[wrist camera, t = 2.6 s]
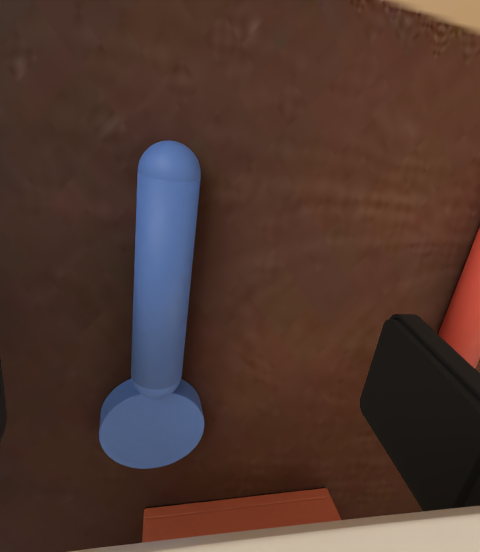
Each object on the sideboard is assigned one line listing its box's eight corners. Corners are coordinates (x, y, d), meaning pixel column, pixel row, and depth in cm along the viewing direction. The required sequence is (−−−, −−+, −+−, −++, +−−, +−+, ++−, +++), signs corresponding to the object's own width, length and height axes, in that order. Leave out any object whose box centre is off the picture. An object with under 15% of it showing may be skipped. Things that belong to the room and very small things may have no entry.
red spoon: (465, 166, 18) (503, 178, 16) (551, 175, 19) (595, 187, 17) (372, 430, 24) (392, 460, 22) (441, 424, 25) (465, 453, 23)
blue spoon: (99, 128, 14) (95, 139, 12) (233, 142, 15) (247, 154, 13) (100, 451, 20) (97, 489, 18) (196, 444, 21) (202, 479, 19)
